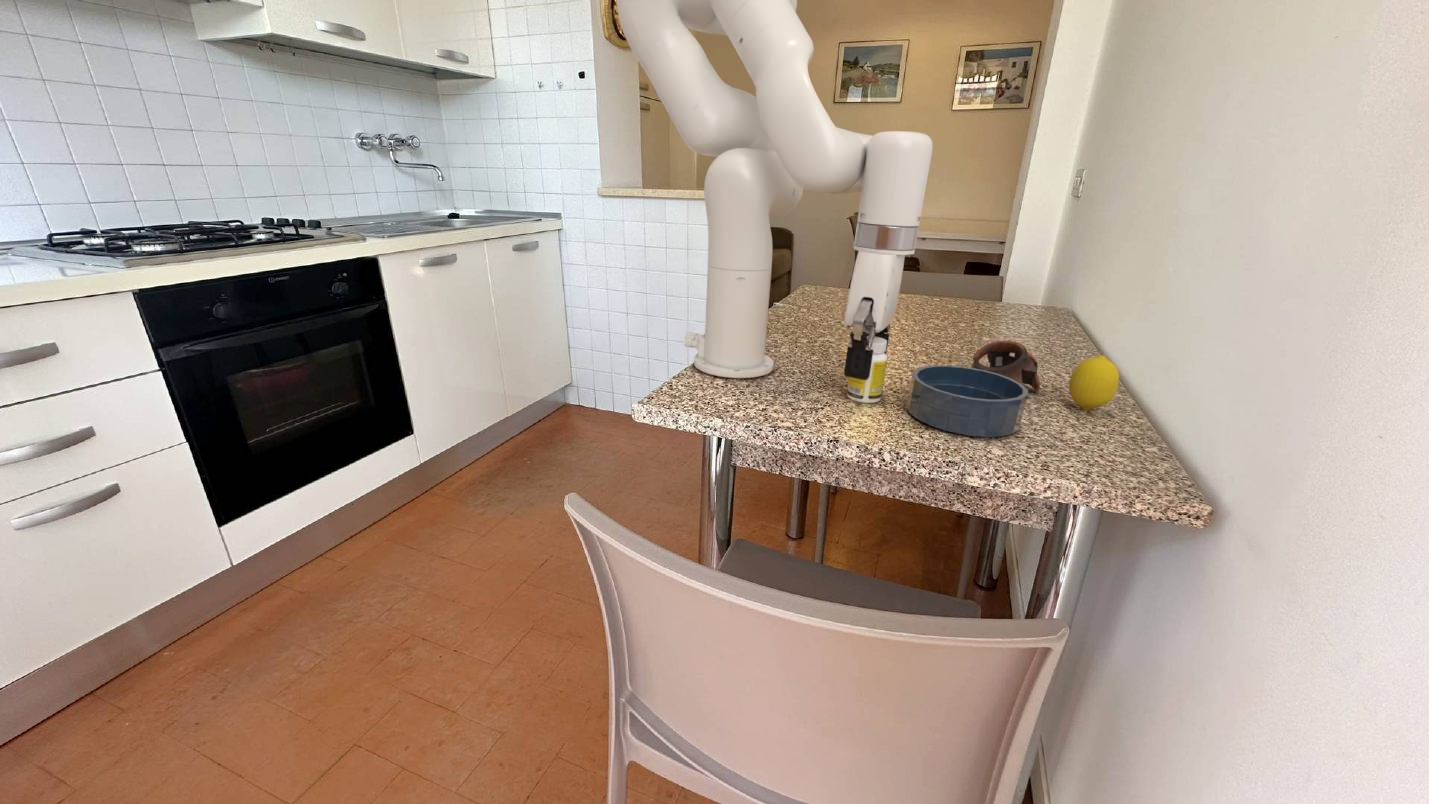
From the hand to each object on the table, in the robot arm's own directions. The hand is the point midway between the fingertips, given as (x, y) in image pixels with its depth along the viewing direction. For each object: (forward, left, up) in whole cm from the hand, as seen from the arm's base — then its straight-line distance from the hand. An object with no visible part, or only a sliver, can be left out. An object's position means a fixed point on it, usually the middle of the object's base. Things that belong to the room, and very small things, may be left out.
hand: (865, 368), depth 79 cm
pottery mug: (+17, +17, -4) cm, 25 cm away
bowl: (+13, 0, -4) cm, 14 cm away
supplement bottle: (0, 0, -4) cm, 5 cm away
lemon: (+28, +13, -4) cm, 31 cm away
